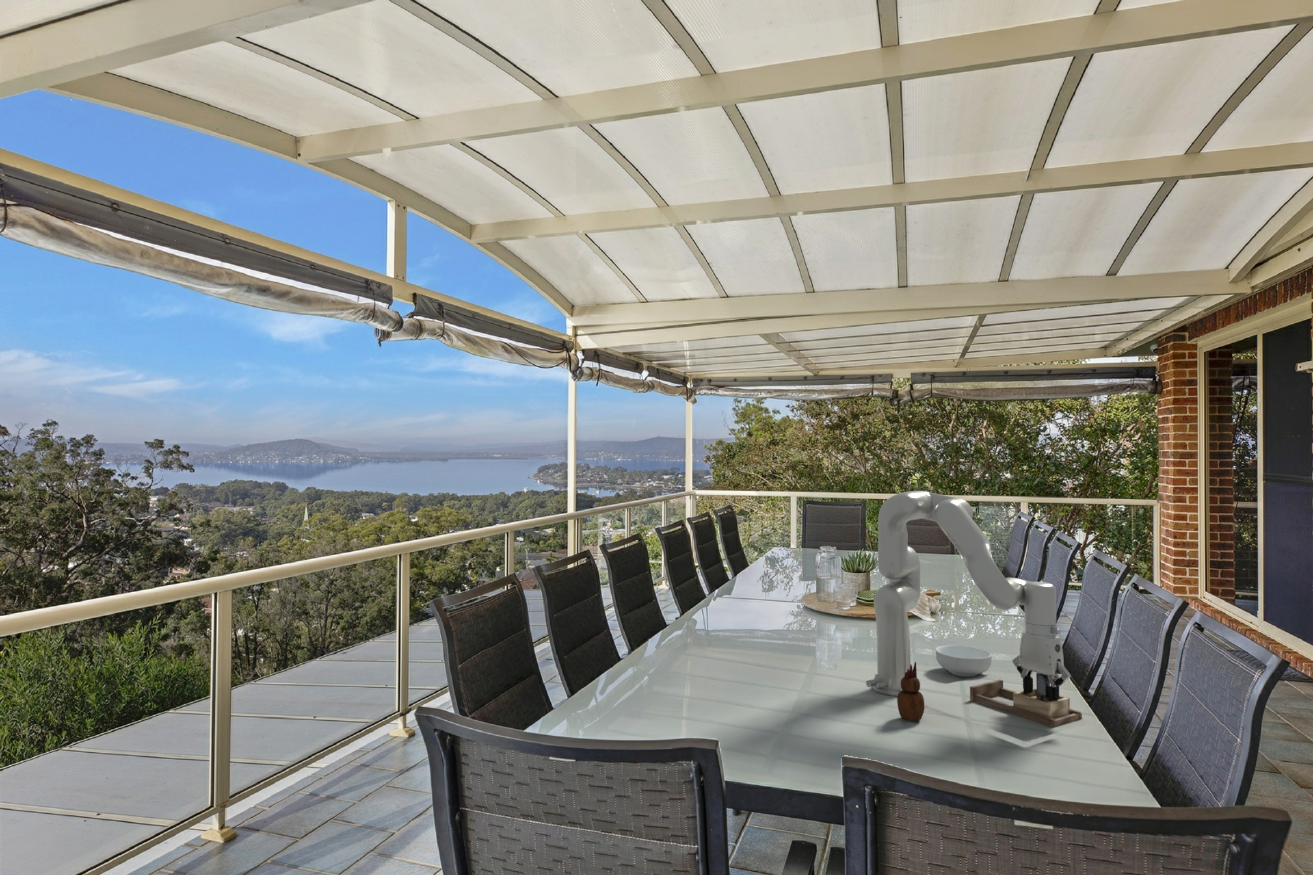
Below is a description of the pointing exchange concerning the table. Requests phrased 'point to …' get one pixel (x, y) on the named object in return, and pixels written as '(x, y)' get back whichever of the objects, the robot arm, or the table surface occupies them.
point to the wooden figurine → (910, 697)
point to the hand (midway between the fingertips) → (1040, 696)
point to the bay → (996, 688)
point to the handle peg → (1042, 687)
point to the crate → (1042, 704)
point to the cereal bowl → (963, 660)
